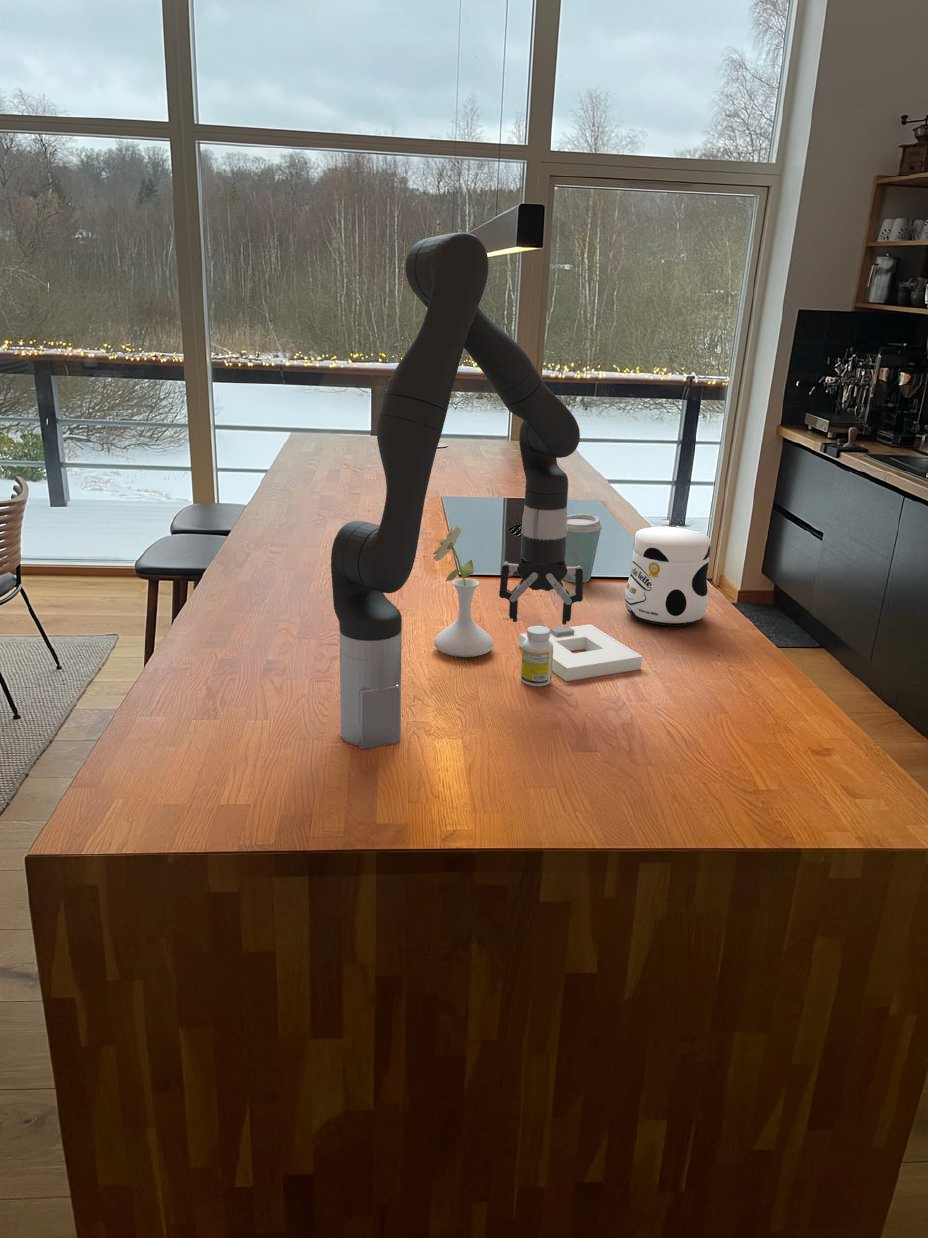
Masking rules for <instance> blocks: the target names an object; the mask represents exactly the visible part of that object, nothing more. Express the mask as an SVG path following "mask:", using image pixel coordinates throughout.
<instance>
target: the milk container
mask: <svg viewBox="0 0 928 1238" xmlns="http://www.w3.org/2000/svg"><path fill="white" fill-rule="evenodd" d="M710 553H711V540H710V537H709V536H708V535H706V534H704V533H703V532H701V531H700V532H699V531H696V530H694V529H687V528H682V527H673V526H653V527H645V528H641V529H638V531H636V532H635V536H634V541H633V551H632V560H631V564H632V565H631V572H630V575H629V578H628V581H627V583H626V586H625V591H624V605H625V608H626V610H627V612H628V613H629V614H630V615H632V616H633V617H634V618H636V619H637V620H640V621H642V622H646V623H650V624H653V625H661V626H668V627H669V626H677V627H678V626H686V625H691V624H694V623H696V622H699V621H700V620H702V618H703V617H704V616H705V613H706V611H707V609H708V604H709V590H708V582H707V576H708V568H709V563H710Z"/></svg>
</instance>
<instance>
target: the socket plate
mask: <svg viewBox="0 0 928 1238" xmlns="http://www.w3.org/2000/svg"><path fill="white" fill-rule="evenodd" d="M549 629H550V638H549V640H550V641H551V642H552V643H553V661H552V673H554V674H556V675H557V676H558V677H559V678H561V679H562V680H563V681H565V682H569V681H576V680H583V679H589V678H593V677H594V678H595V677H599V676H606V675H612V674H618V673H625V672H631V671H637V670H641V669H642V663H643V656H642V655H641V654H639V653H637V652H636V651H634V650H633V649H631V648H629V647H628V646H626V645H625V644H623V643H622V642H620V641H618V640H617V639H615V638H613V637H612V636H610V635H609V634H607V633H605V632H603V631H602V630H600V629H599V628H597V627H595V626H594V625H592V624H590V623H589V624H582V625H576V626H575V625H574V626H559V627H553V628H552V627H551V628H549ZM518 638H519V639H518V640H519V641H518V647H520V648H521V649H522V646H523V642H524V641H525V640H526V639H528V638H527V632H525V633H519V637H518ZM580 650H585V651H581V652H572V651H580Z"/></svg>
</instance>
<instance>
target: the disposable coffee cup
mask: <svg viewBox="0 0 928 1238" xmlns="http://www.w3.org/2000/svg"><path fill="white" fill-rule="evenodd" d="M602 525H603V524H602V523H601V519H600V517H599V516H596V515H593V514H590V513H589V514H586V513H573V514H570V515H568V514H567V537H566V552H565V564H566V566H567V567H576V565H578V564H580V565H582V568H583V583H587V582H590V579H591V577H592V573H593V568H594V565H595V563H594V562H595V558H596V556H597V555H596V554H597V551H598V550H597V549H598V546H599V545H598V544H599V541H600V537H601V535H600V534H601V530H603V526H602ZM563 580H564V581H566V582H569V583H575V580H573V579H572V578H571V575H570V574H569V573H567V574H566V576H565V577H564V578H563Z"/></svg>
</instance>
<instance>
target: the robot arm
mask: <svg viewBox="0 0 928 1238" xmlns="http://www.w3.org/2000/svg"><path fill="white" fill-rule="evenodd" d="M488 256H489V255H488V252H487V249H486V248H485V245H484V243H483V242H482V241H481V240H480V238H478V237H477V235H474V234H472V233H470V232H462V231H461V232H451V233H446V234H441V235H436V236H431V237H426V238H423V239H421V240H419V241H416V243H415V244H413V246H412V247H411V248H410V249H409V251H408V253H407V255H406V260H405V270H404V271H405V276H406V279H407V282H408V285H409V287H410V288H411V290H412V292H413V293H414V294H415V296H416V297H417V298H418V299H419V301H421V303H422V304H423V305H424V306H425V307H426V313H425V317H424V320H423V322H422V324H421V327H420V329H419V331H418V334H417V336H416V337H415V339H414V341H412V344H411V345H410V347H409V348H408V350H407V351H406V352H405V354H404V355H403V357H402V359H400V361H399V362H398V364H397V366H396V367H395V369H394V371H393V373H392V374H391V376H390V378H389V381H388V383H387V386H386V389H385V392H384V396H383V399H382V404H381V407H380V409H379V410H380V411H379V415H378V419H377V424H376V439H377V446H378V452H379V456H380V460H381V464H382V467H383V471H384V476H385V485H386V488H385V489H386V492H385V494H386V495H385V503H384V507H383V512H382V516H381V519H380V523H379V524H376V523H372V522H367V521H364V520H354V521H350V522H347V523H346V524H344V525H343V526H342V527H341V528H340V529H339V530H338V531H337V534H336V536H335V538H334V540H333V544H332V548H331V554H330V569H331V570H330V573H331V575H330V576H331V585H332V586H331V587H332V589H331V590H332V600H333V609H334V613H335V616H336V617H337V620H338V624H339V683H340V684H339V686H340V687H339V690H340V691H339V695H340V699H339V703H340V707H339V708H340V735H341V736H340V737H342V739H343V740H344V741H345V742H347V743H349V744H352V745H353V746H354V745H355V746H357V747H359V748H360V749H361V750H364V749H370V748H376V747H383V746H387V745H394V744H399V743H400V742H401V737H400V736H401V732H402V731H401V730H402V729H401V728H402V725H401V724H402V719H401V718H402V716H401V715H402V710H401V709H402V706H401V705H402V643H403V642H402V639H403V638H402V637H403V635H402V633H403V632H402V630H403V629H402V628H403V627H402V624H403V622H402V621H403V620H402V619H403V618H402V617H403V616H402V614H401V612H400V610H399V608H398V607H396V606H395V604H394V603H392V602H391V600H389V599H388V598H387V596H386V595H385V594H393V593H397V592H399V590H400V589H402V587H403V586H404V585H406V583H407V581H408V579H409V577H410V575H411V573H412V570H413V567H414V565H415V561H416V560H415V559H416V556H417V551H418V544H419V538H420V532H421V525H422V519H423V513H424V508H425V507H424V506H425V500H426V496H427V491H428V488H429V483H430V478H431V473H432V470H433V465H434V463H435V462H434V461H435V456H436V454H437V451H438V450H437V449H438V447H439V443H440V439H441V437H442V432H443V430H444V429H443V428H444V425H445V421H446V417H447V414H448V409H449V404H450V400H451V396H452V392H453V388H454V383H455V381H456V378H457V373H458V370H459V366H460V363H461V359H462V357H463V352H464V350H465V351H466V353H467V354H468V355H469V356H470V358H472V360H473V361H474V362H475V364H476V365H477V366H478V367H479V369H480V370H481V371H482V373H483V375H484V376H485V377H486V379H487V380H488V382H489V383H490V384H491V387H492V388H493V389H494V391H495V392H496V394H497V396H498V397H499V398H500V400H501V403H503V404H504V406H505V407H506V408H507V410H508V411H509V412H510V413H511V414H513V415H514V416H516V417H518V418H520V419H521V420H522V422H521V425H520V428H519V433H518V435H519V436H518V437H519V438H518V440H519V442H518V443H519V450H520V456H521V462H522V467H523V472H524V475H525V488H524V489H525V490H524V508H523V513H522V520H521V521H522V523H521V524H522V525H521V540H520V541H521V544H520V560H519V562H518V563H511V562H509V561H507V560H504V561H503V562H502V566H501V573H500V581H499V582H500V583H499V592H498V593H499V595H498V596H499V597H500V598H501V599H505V600H507V601H508V602H509V605H508V606H509V608H508V609H509V611H508V616H509V619H512V622H513V623H517V622H518V612H519V611H518V609H519V608H518V606H519V598H520V597H521V596H522V594H524V593H525V592H526V591H527V590H528V589H531V590H532V591H540V590H542V591H546V592H551V590H555V592H556V593H557V594H558V596H559V597H560V598H561V600H562V601H563V602H562V604H563V605H562V615H561V617H562V619H561V624H562V625H567V622H570V621H571V618H572V605H573V604H574V603H577V602H578V603H580V602H582V601H583V599H584V597H583V596H584V590H583V589H584V584H583V583H584V582H583V568H582V565H580V564H578V565H576V567H567V566H566V564H565V552H566V537H567V516H568V509H567V508H568V498H569V497H568V495H569V491H568V490H569V478H568V475H567V473H566V472H564V470H562V468H561V467H559V465H558V459H561V458H562V459H563V458H567V457H569V456H571V455H572V454H573V453H574V452H575V451H576V450H577V448H578V446H579V443H580V440H581V432H580V427H579V424H578V421H577V420H576V418H575V417H574V415H573V414H572V412H571V411H570V410H569V408H568V407H567V406H566V405H565V404H564V403H563V402H562V401H561V399H559V397H558V396H557V395H556V394H555V393H553V391H551V389H549V387H548V386H547V385H546V383H545V382H544V379H543V378H542V376H541V374H540V373H539V372H538V370H537V368H536V366H535V365H534V363H533V362H532V360H531V359H530V357H529V356H528V353H526V351H525V350H524V349H523V348H522V347H521V346H520V345H519V343H517V341H515V340H514V339H513V338H512V337H511V336H509V334H508V333H507V332H505V331H504V330H503V329H501V328H500V327H499V325H496V323H495V322H494V321H493V320H491V319H490V317H488V315H486V313H485V312H484V311H483V310H482V309H481V308H480V304H481V301H482V298H483V295H484V292H485V288H486V286H487V282H488V277H489V257H488ZM515 572H517V573H518V574H519V576H520V577H521V579H520V580H519V581H518V582H517V584H516V586H515V587H514V588H513V589H512V590H510V589H508V583H509V577H513V575H514V573H515ZM567 573H569V574H570V575H571V578H572V579H573V580H575V586H574V587H575V588H574V592H573V593H571V592H569V590H568V588H566V586H565V584H564V582H563V581H562V580H564V577H565V576H566V574H567Z"/></svg>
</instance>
